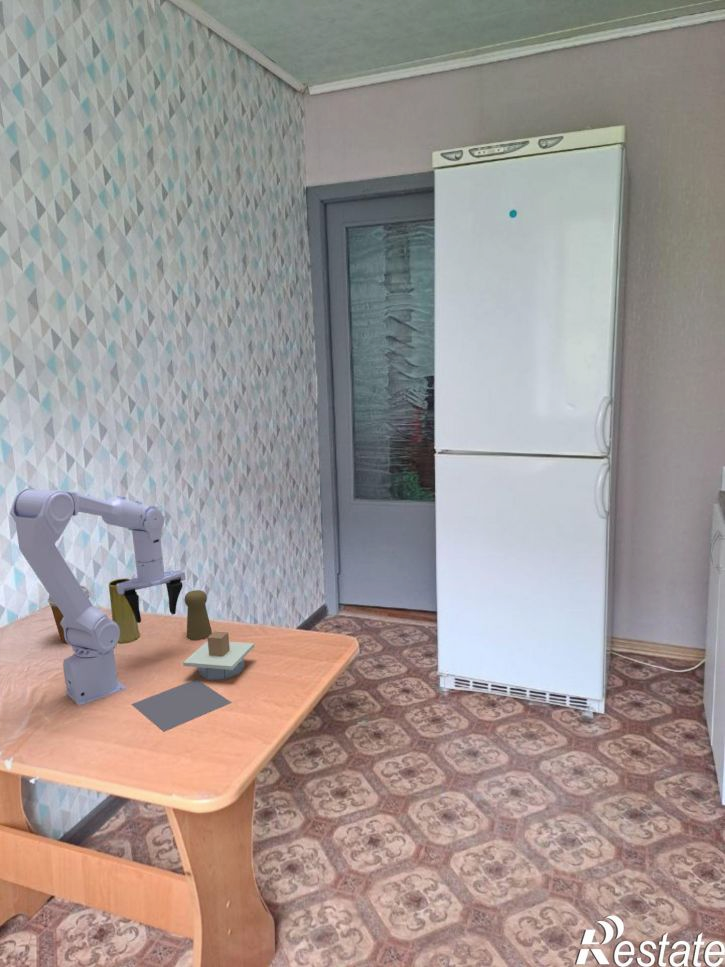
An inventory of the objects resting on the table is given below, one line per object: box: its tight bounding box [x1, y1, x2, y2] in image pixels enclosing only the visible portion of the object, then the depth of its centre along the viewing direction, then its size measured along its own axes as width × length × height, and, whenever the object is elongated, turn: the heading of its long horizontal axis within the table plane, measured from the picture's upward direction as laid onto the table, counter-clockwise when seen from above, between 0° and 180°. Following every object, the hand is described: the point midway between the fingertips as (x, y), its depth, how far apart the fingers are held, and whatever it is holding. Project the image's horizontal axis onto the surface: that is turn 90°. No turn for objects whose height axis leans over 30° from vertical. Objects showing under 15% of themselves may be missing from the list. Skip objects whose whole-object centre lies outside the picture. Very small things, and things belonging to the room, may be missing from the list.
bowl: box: [197, 657, 246, 680], centre depth 144 cm, size 9×9×4 cm
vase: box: [108, 578, 141, 644], centre depth 163 cm, size 6×6×14 cm
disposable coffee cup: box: [47, 585, 91, 644], centre depth 165 cm, size 10×10×12 cm
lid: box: [182, 630, 255, 670], centre depth 143 cm, size 11×11×5 cm
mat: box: [131, 678, 232, 733], centre depth 131 cm, size 14×14×1 cm
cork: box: [184, 589, 213, 641], centre depth 163 cm, size 6×6×11 cm
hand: (155, 617), depth 151 cm, fingers open, 7 cm apart
